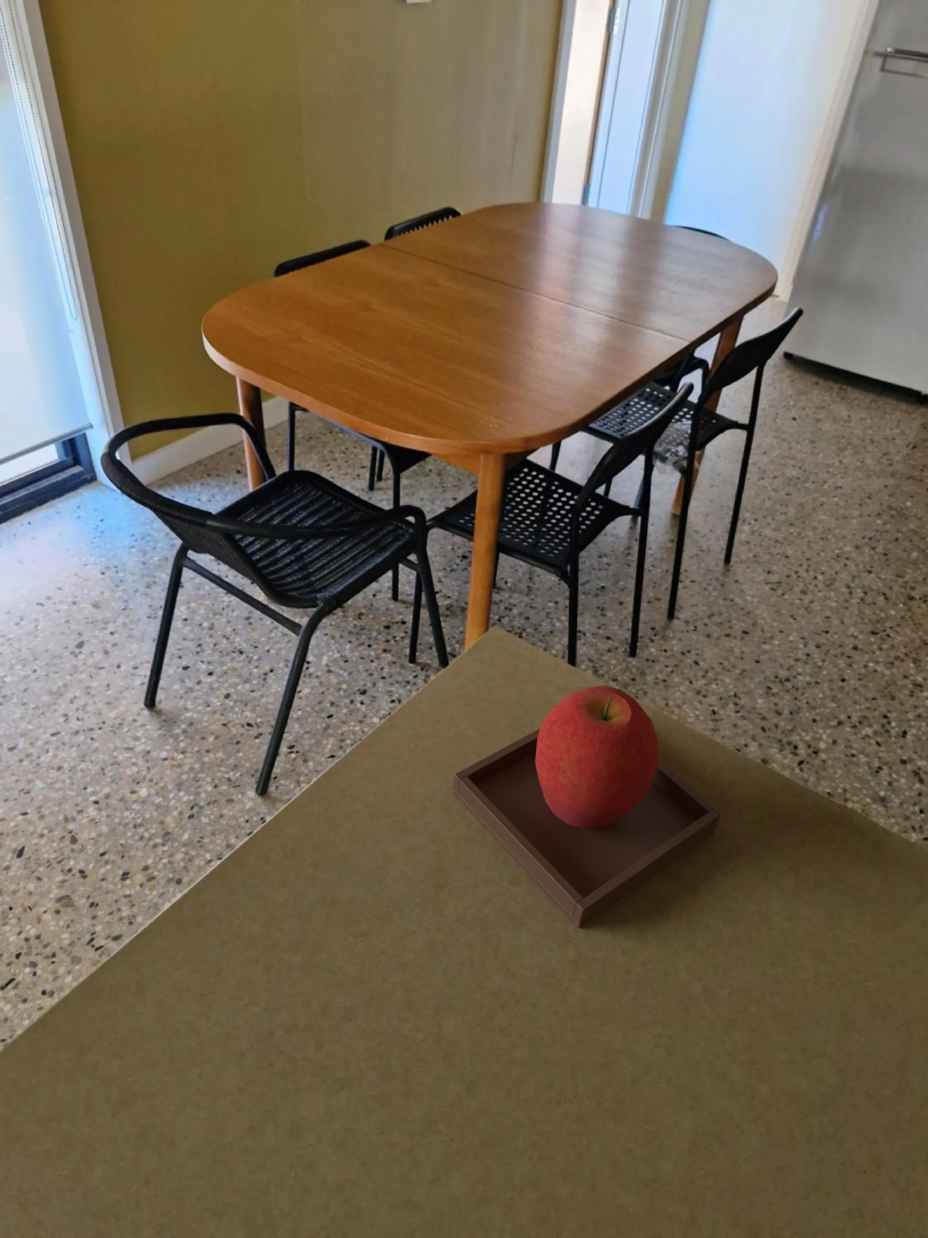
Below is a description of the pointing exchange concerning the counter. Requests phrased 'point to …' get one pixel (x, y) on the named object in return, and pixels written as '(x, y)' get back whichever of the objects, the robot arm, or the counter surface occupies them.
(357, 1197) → the counter surface
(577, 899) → the tray
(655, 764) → the apple
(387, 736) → the counter surface
